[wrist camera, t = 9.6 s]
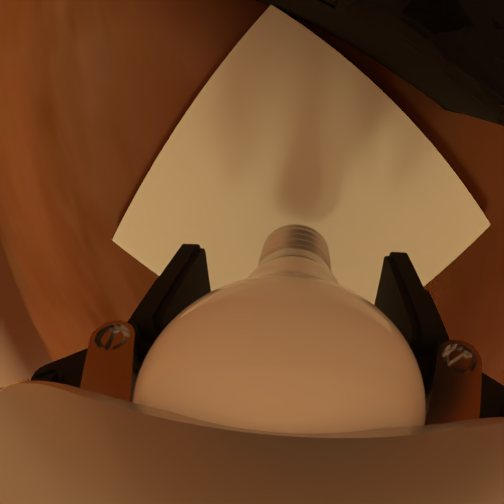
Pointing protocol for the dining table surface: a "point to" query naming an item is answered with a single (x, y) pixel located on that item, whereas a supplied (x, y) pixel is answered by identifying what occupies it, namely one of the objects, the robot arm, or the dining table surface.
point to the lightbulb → (285, 351)
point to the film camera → (424, 45)
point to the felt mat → (299, 169)
